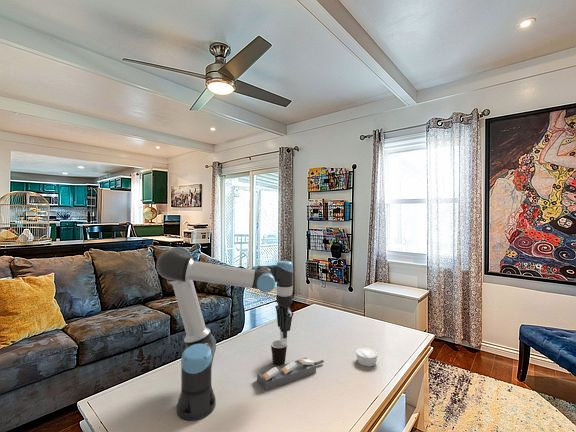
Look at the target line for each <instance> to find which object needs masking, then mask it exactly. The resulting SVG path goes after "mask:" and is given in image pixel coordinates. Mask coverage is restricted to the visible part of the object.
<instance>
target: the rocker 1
mask: <svg viewBox="0 0 576 432" xmlns="http://www.w3.org/2000/svg"><path fill="white" fill-rule="evenodd" d="M276 367H277V366H274V367H272V368H273V369H272V368H270V369H271V370H269V371H268V372H266V373H265V374H263V378H264V379H265V380H266V381H267V380H268V379H270V378H271V377H273V376H274V375H276V374H277V373H279V370H278V369H277V368H276Z"/></svg>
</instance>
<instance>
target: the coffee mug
mask: <svg viewBox="0 0 576 432" xmlns="http://www.w3.org/2000/svg"><path fill="white" fill-rule="evenodd" d="M270 348H271V349H270V350H271V359H272V364H273V366H274V367H278V366H281V365H284V364H286V357H287V349H288V343H287V344H285V345H281V344H280V339H278V340H274V341H273V340H272V341H271V343H270Z"/></svg>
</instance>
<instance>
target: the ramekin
mask: <svg viewBox="0 0 576 432" xmlns="http://www.w3.org/2000/svg"><path fill="white" fill-rule="evenodd" d="M378 354H379V353H378V352H377V351H376V350H375V349H373V348H370V347H358V348H356V349H355V355H356V361H357V362H358V364H360V365H362V366H364V367H373V366H375V365H376V364H377V359H378V356H379V355H378Z"/></svg>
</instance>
